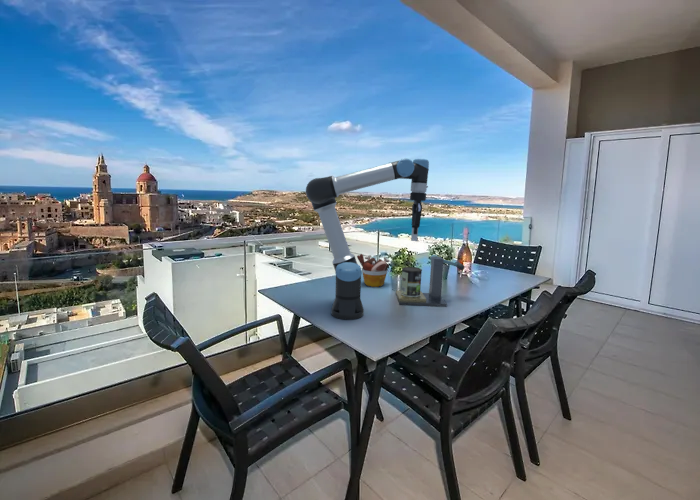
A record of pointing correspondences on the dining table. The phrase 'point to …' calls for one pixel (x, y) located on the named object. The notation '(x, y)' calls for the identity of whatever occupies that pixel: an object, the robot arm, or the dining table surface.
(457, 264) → the press lever
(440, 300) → the press frame
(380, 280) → the bucket of meat
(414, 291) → the coffee can
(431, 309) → the dining table surface
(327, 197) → the robot arm
